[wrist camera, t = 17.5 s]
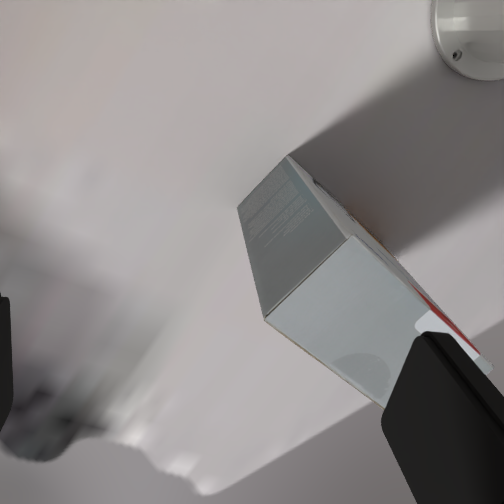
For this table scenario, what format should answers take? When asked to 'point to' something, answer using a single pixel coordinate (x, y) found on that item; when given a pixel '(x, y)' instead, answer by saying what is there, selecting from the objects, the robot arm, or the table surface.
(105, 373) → the table surface
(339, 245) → the hard drive box
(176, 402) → the table surface
